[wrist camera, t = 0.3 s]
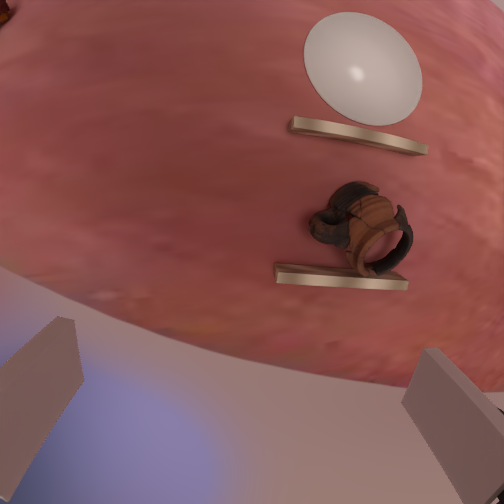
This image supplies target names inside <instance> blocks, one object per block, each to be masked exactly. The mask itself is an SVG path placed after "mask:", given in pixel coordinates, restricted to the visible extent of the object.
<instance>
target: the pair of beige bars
mask: <svg viewBox="0 0 504 504" xmlns="http://www.w3.org/2000/svg"><path fill="white" fill-rule="evenodd" d="M288 132H291V133H299V134H306V135H312V136H319V137H325V138H331V139H337V140H342V141H348V142H353V143H358V144H363V145H368V146H373V147H377V148H382V149H386V150H391V151H395V152H399V153H403V154H407V155H411V156H420V155H428V145H426V144H423V143H420V142H416V141H413V140H409V139H405V138H402V137H398V136H394V135H390V134H386V133H382V132H377V131H373V130H369V129H364V128H360V127H355V126H350V125H345V124H340V123H334V122H329V121H323V120H317V119H311V118H304V117H298V116H294V117H293V118H292V119H291V121H290V122H289V131H288ZM274 276H275V279H276V282H277V283H285V284H299V285H314V286H330V287H347V288H366V289H386V290H407V287H408V283H409V281H408V280H407V279H405V278H404V277H402V276H401V275H399V274H398V273H396V272H387V273H385V274H382V275H380V276H378V275H376V273H375V271H370V274H369V275H368V276H366V277H365V276H363V275H361V274H360V273H359V272H358V271H357V270H355V269H345V268H332V267H319V266H306V265H293V264H281V263H275V264H274Z"/></svg>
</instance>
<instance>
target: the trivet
mask: <svg viewBox="0 0 504 504" xmlns="http://www.w3.org/2000/svg"><path fill="white" fill-rule="evenodd" d="M304 64H305V68H306V72H307V75H308V77H309V79H310V82H311V83H312V85H313V87H314V88H315V90H316V91H317V93H318V94H319V95H320V97H321V98H322V99H323V100H324V101H325V102H326V103H327V104H328V105H329V106H330V107H332V108H333V109H334V110H335V111H337V112H338V113H340V114H341V115H343V116H345V117H347V118H348V119H351V120H353V121H355V122H358V123H362V124H365V125H371V126H384V125H390V124H394V123H397V122H399V121H401V120H403V119H404V118H406V117H407V116H408V115H409V114H411V113H412V111H413V110H414V109H415V107H416V106H417V104H418V102H419V99H420V96H421V92H422V74H421V69H420V66H419V63H418V60H417V58H416V56H415V54H414V52H413V50H412V49H411V47H410V46H409V44H408V43H407V42H406V40H405V39H404V38H403V37H402V36H401V35H400V34H399V33H398V32H397V31H396V30H395V29H393V28H392V27H391V26H389V25H388V24H386V23H384V22H383V21H381V20H379V19H377V18H375V17H372V16H369V15H366V14H362V13H355V12H342V13H336V14H332V15H330V16H327V17H325V18H323V19H322V20H320V21H319V22H318V23H317V24H316V25H315V26H314V27H313V28H312V29H311V31H310V32H309V34H308V36H307V39H306V42H305V45H304Z"/></svg>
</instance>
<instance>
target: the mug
mask: <svg viewBox="0 0 504 504" xmlns="http://www.w3.org/2000/svg"><path fill="white" fill-rule="evenodd" d="M8 11H9V7H8V5H7V3H6V0H0V22H1V23H2V22H5V21H6V20H7V19H8V18H9V13H8Z"/></svg>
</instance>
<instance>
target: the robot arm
mask: <svg viewBox="0 0 504 504" xmlns="http://www.w3.org/2000/svg"><path fill="white" fill-rule="evenodd" d="M83 382H84V376H83V372H82V366H81V361H80V355H79V349H78V344H77V337H76V330H75V322H74V320H72V319H67V318H63V317H58V316H57V318H55V319H54V320H53V321H52V322H50V323H49V324H48V325H47V326H46V327H45V328H44V329H42V330H41V331H40V332H39V333H38V334H37V335H35V336H34V337H33V338H32V339H31V340H30V341H29V342H28V343H26V344H25V345H24V346H23V347H22V348H21V349H20V350H19V351H18V352H16V353H15V354H14V355H13V356H12V357H11V358H10V359H9V360H8V361H7V362H6V363H5V364H4V365H3V366H1V367H0V498H1V499H3V500H4V501H6V502H9V500H10V498H11V497H12V495H13V493H14V491H15V489H16V487H17V486H18V484H19V482H20V481H21V479H22V477H23V475H24V474H25V472H26V470H27V469H28V467H29V465H30V463H31V462H32V460H33V459H34V457H35V455H36V454H37V452H38V450H39V449H40V447H41V446H42V444H43V442H44V441H45V439H46V438H47V436H48V434H49V433H50V431H51V430H52V428H53V427H54V425H55V423H56V422H57V420H58V419H59V417H60V416H61V414H62V413H63V411H64V409H65V408H66V407H67V405H68V404H69V402H70V400H71V399H72V398H73V396H74V395H75V393H76V392H77V390H78V389H79V387H80V386H81V385H82V383H83ZM401 403H402V405H403V406H404V408H405V409H406V411H407V412H408V414H409V415H410V417H411V418H412V420H413V422H414V423H415V425H416V426H417V428H418V429H419V431H420V433H421V434H422V436H423V437H424V439H425V440H426V442H427V444H428V445H429V447H430V449H431V450H432V452H433V453H434V455H435V457H436V458H437V460H438V461H439V463H440V465H441V466H442V468H443V470H444V471H445V473H446V475H447V476H448V478H449V480H450V481H451V483H452V485H453V486H454V488H455V490H456V492H457V493H458V495H459V496H460V498H461V500H462V502H463V503H464V504H490V503H492V501H494V500H495V498H496V497H498V499H499V502H498V503H497V504H504V412H503V411H502V410H501V409H499V408H497V407H496V406H495V405H494V404H493V403H492V402H491V401H490V400H489V399H488V398H487V397H486V396H485V395H484V394H483V393H482V392H481V391H480V390H479V389H478V388H477V386H476V385H475V384H474V383H473V382H472V381H471V380H470V379H469V378H468V377H467V376H466V375H465V374H464V373H463V372H462V371H461V370H460V369H459V368H458V367H457V366H456V365H455V364H454V363H453V362H452V361H451V360H450V359H448V358H447V357H446V356H445V355H444V354H443V353H442V352H441V351H440V350H439V349H438V348H423V351H422V353H421V356H420V359H419V361H418V364H417V366H416V369H415V371H414V374H413V376H412V379H411V381H410V384H409V386H408V388H407V391H406V393H405V395H404V398H403V400H402V402H401Z"/></svg>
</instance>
